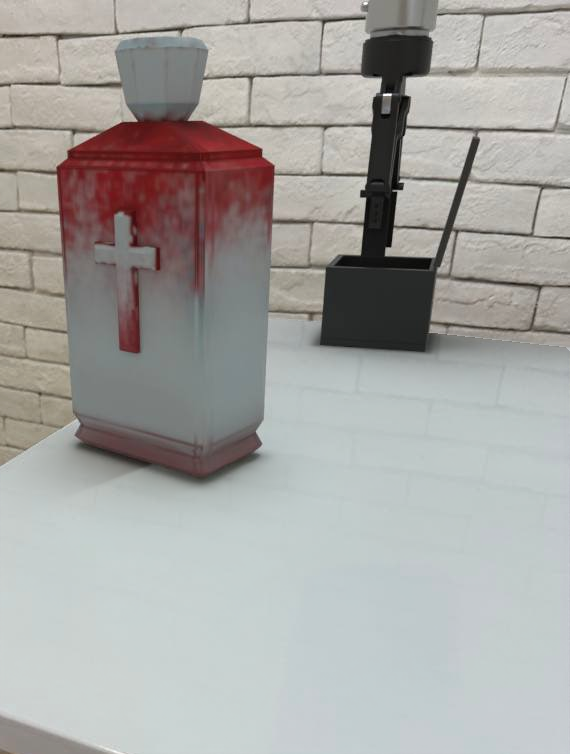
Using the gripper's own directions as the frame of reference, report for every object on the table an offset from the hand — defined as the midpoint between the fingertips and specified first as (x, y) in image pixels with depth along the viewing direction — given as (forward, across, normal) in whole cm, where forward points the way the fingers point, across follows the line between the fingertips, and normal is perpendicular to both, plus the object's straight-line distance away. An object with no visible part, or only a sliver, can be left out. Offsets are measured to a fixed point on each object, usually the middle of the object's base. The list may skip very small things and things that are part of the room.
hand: (376, 252), depth 100 cm
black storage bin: (+10, 0, +1) cm, 10 cm away
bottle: (+11, +46, -12) cm, 48 cm away
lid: (-6, 0, +8) cm, 10 cm away
